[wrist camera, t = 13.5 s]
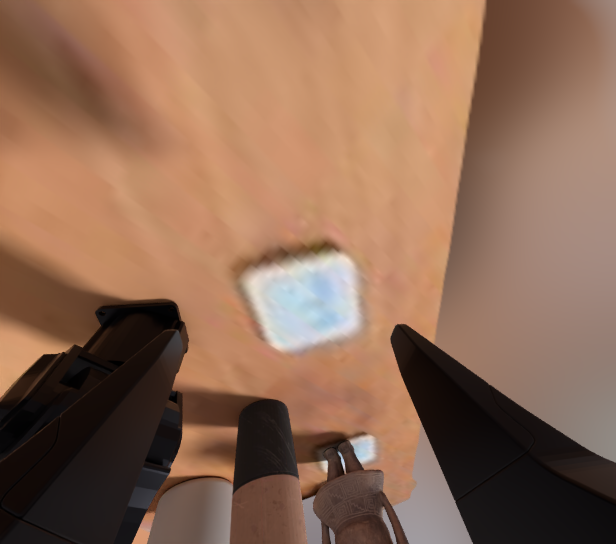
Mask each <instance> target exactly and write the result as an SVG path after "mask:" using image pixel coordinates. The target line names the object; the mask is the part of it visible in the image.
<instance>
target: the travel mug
mask: <svg viewBox="0 0 616 544" xmlns="http://www.w3.org/2000/svg"><path fill="white" fill-rule="evenodd" d="M230 544H307V536H306V529H305V520H304V513H303V505H302V497H301V489H300V482H299V475H298V469H297V463H296V456H295V450H294V444H293V438H292V432H291V425H290V419H289V413H288V409H287V407H286V405H285V404H284V403H282V402H280V401H277V400H262V401H258V402H255V403H253V404H251V405H249V406H247V407H246V408H245V409H244V410H243V411H242V412H241V414H240V417H239V424H238V435H237V447H236V458H235V470H234V481H233V493H232V508H231V526H230Z"/></svg>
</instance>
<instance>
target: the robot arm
mask: <svg viewBox="0 0 616 544" xmlns="http://www.w3.org/2000/svg"><path fill="white" fill-rule="evenodd" d="M170 307H172V308H174V309H171V308H170ZM102 311H103V312H105V313H103V312H102ZM95 314H96V316H97V318H98V320H99V322H100V324H101V327H100V328H99V329H98V330H97V332H96V333H95V334H94V335H93V336H92V337H91V339H90V340H89V341H88V342H87V343H86V344H85V346H84V347H83V348H82V347H80V346H77V345H73V346H72V347H71V348H70V349H68V350H67V351H66V352H62V353H61V354H60V353H58V354H44V355H43V356H41V357H40V358H39V359H38V360H37V361H36V362H35V363H34V364H33V365H32V366H31V367H30V368H29V369H28V370H26V371H25V372H24V373H23V374H22V375H21V376H20V377H19V378H18V379H17V380H16V381H15V382H14V384H13V385H12V386H11V387H10V388H9V389H8V390H7V391H6V392H5V393H4V395H3V396H2V397H1V398H0V544H132V542H133V540H134V537H135V535H136V533H137V531H138V528H139V526H140V524H141V522H142V520H143V517H144V515H145V513H146V511H147V509H148V507H149V505H150V504H151V502H152V500H153V498H154V496H155V495H156V493H157V491H158V490H159V488H160V487H161V485H162V484H163V482H164V481H165V479H166V478H167V476H168V475H169V473H170V471H171V468H170V467H171V465H172V463H173V461H174V459H175V457H176V455H177V453H178V450H179V447H180V444H181V440H182V393H180V392H178V391H176V392H175V391H172V387H173V384H174V380H175V376H176V374H177V373H178V372H179V369H180V366H181V363H182V360H183V357H184V354H185V353H187V351H188V342H189V338H188V334H187V330H186V326H185V323H184V322H183V321H181V317H180V313H179V309H178V306H177V304H176V303H172V302H169V303H152V304H135V305H118V306H102V307H99V308H98V309H97V310H96V312H95ZM390 340H391V344H392V348H393V351H394V354H395V357H396V360H397V364H398V367H399V370H400V373H401V376H402V378H403V381H404V383H405V385H406V388H407V390H408V392H409V395H410V397H411V399H412V402H413V404H414V406H415V409H416V411H417V413H418V416H419V418H420V420H421V423H422V425H423V427H424V430H425V432H426V434H427V437H428V439H429V441H430V444H431V446H432V448H433V451H434V453H435V455H436V458H437V460H438V462H439V465H440V467H441V469H442V472H443V474H444V476H445V479H446V481H447V484H448V486H449V488H450V491H451V493H452V495H453V497H454V500H455V501H456V502H455V503H456V505H457V507H458V509H459V512H460V514H461V517H462V519H463V521H464V524H465V526H466V528H467V531H468V533H469V535H470V538H471V540H472V542H473V544H616V463H615V462H613V461H610V460H608V459H605V458H603V457H601V456H599V455H597V454H595V453H593V452H591V451H589V450H588V449H586V448H585V447H583V446H581V445H580V444H578V443H577V442H575V441H573V440H572V439H570V438H569V437H567V436H565V435H564V434H563V433H561V432H560V431H558V430H556V429H555V428H553V427H552V426H550V425H549V424H547V423H546V422H544V421H542V420H541V419H539V418H538V417H536V416H534V415H533V414H532V413H530V412H529V411H527V410H526V409H524V408H523V407H521V406H519V405H518V404H517V403H515V402H514V401H512V400H511V399H509V398H508V397H507V396H505V395H504V394H502V393H501V392H499V391H498V390H496V389H495V388H494V387H492V386H491V385H489V384H488V383H487V382H486V381H484V380H483V379H481V378H480V377H479V376H477V375H476V374H474V373H473V372H471V371H470V370H469V369H467V368H466V367H465V366H463V365H462V364H460V363H459V362H458V361H456V360H455V359H454V358H452V357H451V356H449V355H448V354H447V353H445V352H444V351H442V350H441V349H439V348H438V347H437V346H435V345H434V344H433V343H431V342H430V341H428V340H427V339H426V338H424V337H423V336H421V335H420V334H419V333H417V332H416V331H415V330H413V329H412V328H410V327H409V326H408V325H406V324H397V325H396V326H395V328H394V330H393V332H392V335H391V339H390Z"/></svg>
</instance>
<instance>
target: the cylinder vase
mask: <svg viewBox="0 0 616 544" xmlns="http://www.w3.org/2000/svg"><path fill="white" fill-rule="evenodd" d="M232 493H233V484H232V483H231V482H229V481H228V480H225V479H222V478H214V477H208V478H198V479H193V480H189V481H186V482H183V483H180V484H178V485H176V486H174V487H172V488H170V489H169V490H168V491H166V492H165V493H164V494H163V495H162V497H161V498H160V500H159V502H158V505H157V509H156V512H155V516H154V520H153V523H152V527H151V531H150V535H149V538H148V542H147V544H230V526H231V508H232Z"/></svg>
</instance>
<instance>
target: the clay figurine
mask: <svg viewBox="0 0 616 544" xmlns="http://www.w3.org/2000/svg"><path fill="white" fill-rule="evenodd" d="M338 450H339V452H340V453H341V454H342V457H343V459H344V462H345V468H346V473H347V474H344V470H343V466H342V463H341V457H340V456H339V454H338V453H337V451H336V450H335V449H334V448H330V449H327V450H326V451H325V453H324V454H323V456H324V457H325V458H326V459H327V461H328V476H327V483H326V484H324V485H323V486H322V487H321V488H320V489H319V491H318V492H317V494H316V497H315V499H314V502H313V510H314V512H315V514H316V516H317V517H318V518H319V519H320V520H321V522H322V523H321V525H322V544H331V541H330V536H329V527H330V528H331V529H332V530H333V532H334V534H335V544H393V542H392V539H391V537H390V533H389V530H388V528H387V527H386V524H385V523H384V521H383V518H382V516H383V506H384V507H385V510H386V512H387V515H388V517H389V520H390V522H391V524H392V527H393V530H394V534H395V537H396V542H397V544H409V543H408V540H407V538H406V536H405V533H404V531H403V529H402V526H401V524H400V522H399V520H398V517H397V515H396V513H395V511H394V509H393V508H392V506H391V504H390V503H389V501H388V499H387V497H386V495H385V494H384V493H383V482H384V474H383V472H382V471H381V470H364V469H363V467H362V465H361V464H360V462H359V460H358V459H357V457H356V455H355V453H354V448H353V446H352V445H351V443H350V441H345V442H343V443H341V444H340V445H339V446H338Z"/></svg>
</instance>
